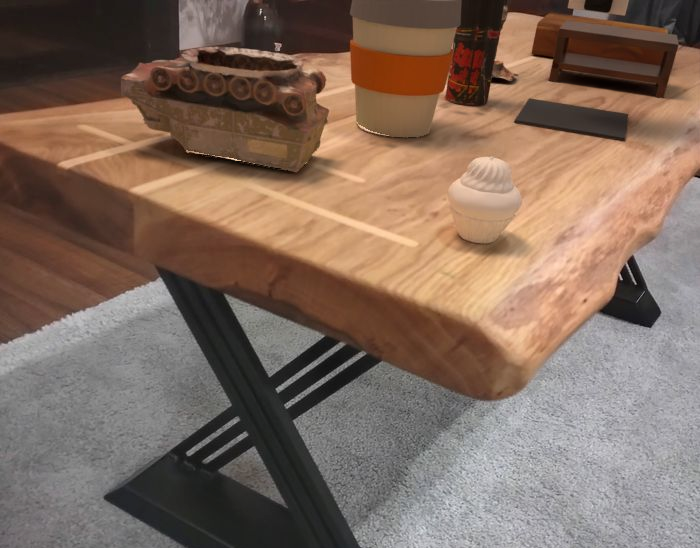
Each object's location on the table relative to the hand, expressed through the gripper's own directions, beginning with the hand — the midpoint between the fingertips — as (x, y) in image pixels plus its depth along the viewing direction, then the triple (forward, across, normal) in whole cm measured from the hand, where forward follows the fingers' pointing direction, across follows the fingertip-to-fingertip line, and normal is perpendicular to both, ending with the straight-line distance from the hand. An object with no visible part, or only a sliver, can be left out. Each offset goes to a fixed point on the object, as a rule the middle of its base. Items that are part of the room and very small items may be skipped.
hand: (598, 7), depth 97 cm
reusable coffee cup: (+14, -19, +20) cm, 31 cm away
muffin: (+14, -48, +4) cm, 50 cm away
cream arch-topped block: (0, 0, 0) cm, 0 cm away
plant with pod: (+14, +19, +16) cm, 29 cm away
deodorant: (+14, +1, +15) cm, 21 cm away
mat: (+14, 0, 0) cm, 14 cm away
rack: (+14, +30, -3) cm, 33 cm away
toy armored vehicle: (+14, -41, +32) cm, 54 cm away
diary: (+14, +54, 0) cm, 56 cm away
